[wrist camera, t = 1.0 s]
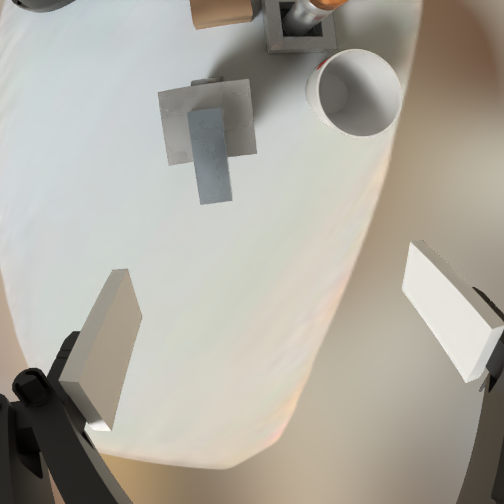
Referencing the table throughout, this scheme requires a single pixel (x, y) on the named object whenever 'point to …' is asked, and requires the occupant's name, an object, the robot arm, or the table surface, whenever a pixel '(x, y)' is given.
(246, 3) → the block
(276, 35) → the grey square socket base
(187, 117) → the caster wheel
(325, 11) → the pin
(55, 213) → the table surface
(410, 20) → the table surface
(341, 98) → the cup
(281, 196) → the table surface
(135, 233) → the table surface
